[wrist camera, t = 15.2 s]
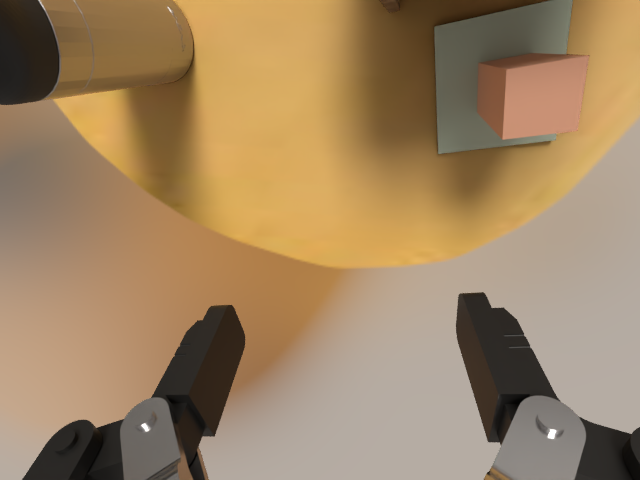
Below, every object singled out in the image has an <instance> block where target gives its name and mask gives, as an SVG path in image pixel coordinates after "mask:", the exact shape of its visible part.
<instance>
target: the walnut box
mask: <svg viewBox="0 0 640 480" xmlns="http://www.w3.org/2000/svg"><path fill="white" fill-rule="evenodd" d="M380 2H381V3H382V4H383V5H384V7H385V8H386V9H387V11H388V12H389V13H390V12H394V11H398V10H400V3H399V0H380Z"/></svg>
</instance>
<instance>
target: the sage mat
mask: <svg viewBox="0 0 640 480" xmlns="http://www.w3.org/2000/svg"><path fill="white" fill-rule="evenodd" d="M572 2H573V0H550V1H545V2H541V3H537V4H532V5H528V6H523V7H519V8H515V9H510V10H506V11H501V12H497V13H492V14H488V15H484V16H479V17H475V18H470V19H466V20H461V21H457V22H453V23H448V24H444V25H439V26H435V27H434V40H435V71H436V103H437V135H438V154H443V153H452V152H460V151H468V150H477V149H485V148H494V147H502V146H510V145H519V144H527V143H536V142H544V141H552V140H556V133H555V134H547V135H538V136H530V137H522V138H513V139H505V140H502V139H501V138H500V137H499V136H498V134H497V133H496V132H495V131H494V130H493V129H492V128H491V127H490V126H489V125H488V124H487V123H486V122H485V121H484V119H483V118H482V117H481V116H480V115H479V114H478V113H477V93H478V63H480V62H486V61H491V60H497V59H502V58H508V57H513V56H519V55H524V54H530V53H545V54H566V51H567V43H568V35H569V27H570V18H571V10H572Z"/></svg>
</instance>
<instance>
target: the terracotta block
mask: <svg viewBox="0 0 640 480" xmlns="http://www.w3.org/2000/svg"><path fill="white" fill-rule="evenodd" d="M588 60H589V55H569V54H545V53H530V54H524V55H519V56H513V57H508V58H502V59H497V60H491V61H486V62H480V63H478V93H477V113H478V114H479V115H480V116H481V117H482V118H483V119H484V121H485V122H486V123H487V124H488V125H489V126H490V127H491V128H492V129H493V130H494V131H495V132H496V133H497V134H498V136H499V137H500V138H501V139H502V140H505V139H513V138H522V137H530V136H538V135H547V134H555V133H563V132H572V131H578V125H579V118H580V112H581V105H582V99H583V92H584V86H585V79H586V73H587V66H588Z"/></svg>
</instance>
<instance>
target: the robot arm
mask: <svg viewBox="0 0 640 480" xmlns="http://www.w3.org/2000/svg"><path fill="white" fill-rule="evenodd" d="M192 57H193V38H192V34H191V30H190V27H189V24H188V22H187V19H186V18H185V16H184V14H183V13H182V11H181V9H180V8H179V7H178V6H177V5H176V3H175V2H174V1H172V0H0V104H1V105H13V104H22V103H28V102H35V101H41V100H49V99H56V98H64V97H71V96H76V95H84V94H91V93H98V92H105V91H113V90H120V89H127V88H134V87H141V86H150V85H157V84H164V83H170V82H175V81H177V80H179V79H180V78H182V77H183V76H184V75H185V74H186V72H187V70H188V69H189V67H190V64H191V61H192ZM456 333H457V340H458V344H459V347H460V350H461V354H462V357H463V360H464V364H465V367H466V370H467V374H468V377H469V380H470V383H471V387H472V390H473V393H474V397H475V400H476V403H477V406H478V410H479V413H480V417H481V420H482V423H483V426H484V430H485V433H486V436H487V440H488V442H500V444H501V448H500V450H499V452H498V454H497V456H496V458H495V461H494V463H493V465H492V467H491V469H490V471H489V472H488V473H487V474H486V476H485V478H484V480H640V427H639V428H637V429H636V430H635V431H634V432H633V433H632V434H629V433H625V432H622V431H619V430H615V429H611V428H608V427H604V426H601V425H597V424H594V423H591V422H589V421H587V420H584V419H582V418H581V417H579V416H577V414H576V413H575V412H574V411H573V410H571V409H570V408H569V407H568V406H566V405H565V404H564V403H562V402H561V401H560V400H559V399H558V398H557V396H556V394H555V393H554V391H553V389H552V387H551V385H550V383H549V381H548V379H547V377H546V376H545V374H544V371H543V370H542V368H541V366H540V364H539V362H538V360H537V358H536V356H535V354H534V352H533V350H532V349H531V348H530V345H529V342H528V341H527V339H526V337H525V336H524V333H523V331H522V329H521V327H520V325H519V323H518V321H517V319H515V318H514V317H513V316H512V315H511V314H510V313H509V312H508V311H507V310H505V309H504V308H491V305H490V304H489V301H488V299H487V297H486V295H485V293H483V292H482V293H463V294H459V297H458V309H457V321H456ZM244 347H245V334H244V331H243V328H242V326H241V323H240V321H239V319H238V316H237V314H236V311H235V309H234V307H233V306H232V305H219V306H211V307H210V308H209V309H208V311H207V313H206V315H205V317H204V319H203V320H201V321H197V322H196V323H195V324H194V325H193V326H192V327H191V328H190V329H189V330H188V331H187V332H186V334H185V336H184V338H183V340H182V342H181V343H180V347H178V349H177V351H176V353H175V357H173V358H172V360H171V362H170V364H169V366H168V368H167V370H166V371H165V374H164V376H163V377H162V379H161V381H160V383H159V384H158V386H157V388H156V390H155V392H154V394H153V395H152V397H151V398H150V399H147V400H144V401H142V402H141V403H139V404H138V405H136V406H135V407H134V408H133V409H132V410H131V411H130V412H129V413H128V415H126V417H125V419H123V420H120V421H116V422H113V423H111V424H107V425H104V426H101V427H98V428H96V427H95V426H94V425H93V424H92V423H91V422H90V421H88V420H78V421H75V422H72V423H70V424H68V425H66V426H65V427H63V428H62V429H60V430H59V431H58V432H57V433H56V434H54V435H53V436H52V438H51V439H50V440H49V441H48V442H47V444H46V445H45V447H44V448H43V450H42V451H41V453H40V454H39V456H38V457H37V458H36V460H35V461H34V463H33V464H32V466H31V467H30V469H29V471H28V472H27V473H26V475H25V476H24V478H23V479H22V480H209V479H208V475H207V472H206V469H205V466H204V462H203V458H202V455H201V451H200V449H199V447H198V446H199V443H200V441H201V438H202V436H215V434H216V430H217V428H218V425H219V421H220V419H221V416H222V413H223V410H224V407H225V404H226V401H227V398H228V395H229V392H230V389H231V386H232V383H233V380H234V377H235V374H236V371H237V368H238V365H239V362H240V360H241V357H242V354H243V350H244Z"/></svg>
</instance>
